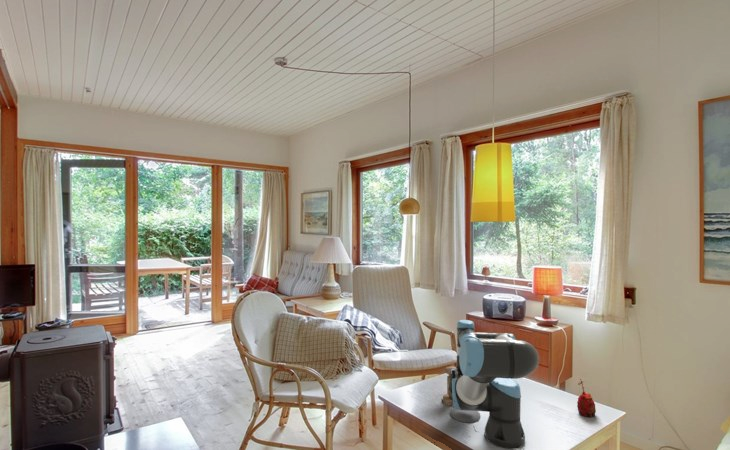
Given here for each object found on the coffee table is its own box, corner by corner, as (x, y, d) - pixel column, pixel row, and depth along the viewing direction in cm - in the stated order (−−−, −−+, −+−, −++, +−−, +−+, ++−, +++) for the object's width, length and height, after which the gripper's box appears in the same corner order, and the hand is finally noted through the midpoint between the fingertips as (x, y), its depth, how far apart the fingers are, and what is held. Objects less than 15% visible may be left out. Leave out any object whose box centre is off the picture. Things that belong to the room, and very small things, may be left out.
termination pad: (485, 421, 163) (485, 420, 163) (457, 424, 161) (457, 422, 161) (472, 406, 176) (472, 405, 176) (445, 409, 174) (445, 407, 174)
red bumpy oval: (588, 419, 165) (588, 385, 165) (573, 412, 171) (573, 379, 171) (599, 415, 169) (599, 382, 168) (583, 408, 175) (584, 376, 175)
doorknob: (467, 405, 177) (468, 373, 177) (447, 407, 176) (447, 374, 176) (459, 395, 187) (459, 365, 187) (439, 397, 186) (439, 366, 185)
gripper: (447, 360, 163) (446, 412, 163) (491, 357, 166) (490, 408, 167) (440, 353, 170) (440, 404, 171) (482, 351, 174) (482, 400, 174)
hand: (465, 406), depth 169 cm, fingers closed on white cup, 7 cm apart
